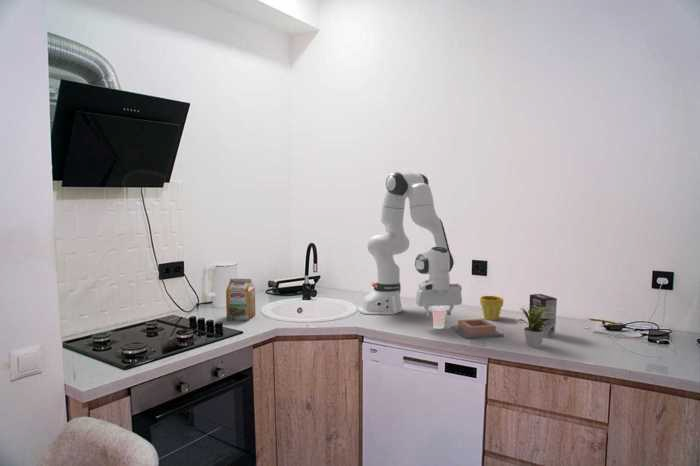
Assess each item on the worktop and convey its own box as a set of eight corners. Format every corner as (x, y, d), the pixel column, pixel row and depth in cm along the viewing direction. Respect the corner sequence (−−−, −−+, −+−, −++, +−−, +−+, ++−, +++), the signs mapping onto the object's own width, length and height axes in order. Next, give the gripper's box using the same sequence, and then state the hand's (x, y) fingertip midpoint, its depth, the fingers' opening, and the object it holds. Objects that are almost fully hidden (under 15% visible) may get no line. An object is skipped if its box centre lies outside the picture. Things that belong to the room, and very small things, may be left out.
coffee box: (527, 331, 196) (528, 294, 194) (539, 330, 198) (540, 293, 197) (543, 337, 187) (545, 298, 186) (556, 336, 189) (557, 297, 188)
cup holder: (466, 338, 186) (466, 329, 185) (451, 327, 201) (451, 318, 201) (503, 336, 188) (503, 327, 188) (485, 326, 204) (485, 317, 204)
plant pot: (498, 322, 210) (498, 301, 210) (476, 318, 217) (476, 298, 216) (505, 317, 218) (506, 297, 218) (484, 314, 225) (485, 294, 224)
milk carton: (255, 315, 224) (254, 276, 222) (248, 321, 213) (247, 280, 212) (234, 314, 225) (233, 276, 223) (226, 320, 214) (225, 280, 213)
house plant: (515, 350, 172) (516, 307, 170) (507, 339, 185) (508, 299, 184) (555, 352, 170) (556, 308, 168) (544, 340, 183) (546, 300, 182)
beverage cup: (435, 324, 207) (436, 294, 206) (448, 326, 203) (448, 295, 202) (429, 327, 202) (429, 296, 201) (441, 330, 198) (442, 298, 197)
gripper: (458, 282, 206) (458, 312, 207) (415, 283, 202) (414, 314, 204) (464, 284, 200) (464, 315, 201) (419, 286, 196) (419, 318, 197)
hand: (438, 315), depth 202 cm, fingers open, 8 cm apart
